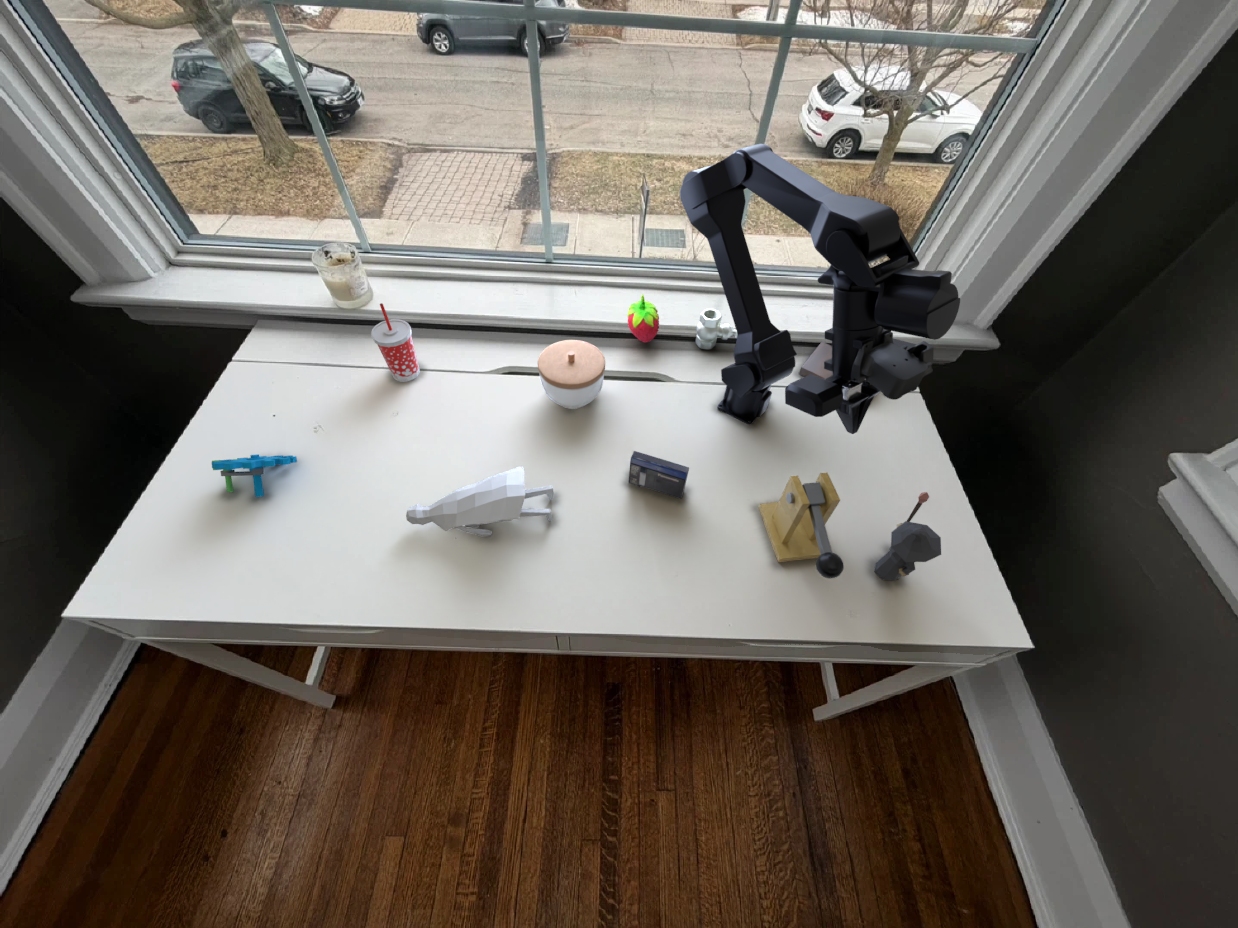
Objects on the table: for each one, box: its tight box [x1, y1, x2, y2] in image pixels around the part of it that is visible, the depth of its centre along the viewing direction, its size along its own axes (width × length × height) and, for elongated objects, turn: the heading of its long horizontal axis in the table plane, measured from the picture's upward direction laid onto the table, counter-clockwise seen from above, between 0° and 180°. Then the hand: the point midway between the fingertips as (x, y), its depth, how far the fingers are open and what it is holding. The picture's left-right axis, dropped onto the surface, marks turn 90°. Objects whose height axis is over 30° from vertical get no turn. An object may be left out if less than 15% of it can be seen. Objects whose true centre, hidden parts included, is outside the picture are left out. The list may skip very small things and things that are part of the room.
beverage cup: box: [370, 303, 421, 383], centre depth 89 cm, size 6×6×14 cm
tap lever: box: [802, 481, 845, 579], centre depth 69 cm, size 12×3×3 cm, turn 8°
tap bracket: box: [758, 472, 841, 563], centre depth 73 cm, size 9×7×11 cm
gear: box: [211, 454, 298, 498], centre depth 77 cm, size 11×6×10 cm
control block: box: [798, 341, 833, 379], centre depth 97 cm, size 12×9×4 cm
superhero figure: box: [405, 465, 554, 537], centre depth 74 cm, size 10×9×20 cm
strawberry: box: [626, 294, 660, 343], centre depth 98 cm, size 6×7×10 cm
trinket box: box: [537, 339, 606, 410], centre depth 89 cm, size 11×11×9 cm
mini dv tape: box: [628, 450, 690, 500], centre depth 79 cm, size 8×2×6 cm, turn 70°
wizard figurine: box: [873, 491, 942, 581], centre depth 70 cm, size 8×6×12 cm
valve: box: [695, 308, 738, 350], centre depth 99 cm, size 7×7×12 cm
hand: (852, 432), depth 74 cm, fingers closed
